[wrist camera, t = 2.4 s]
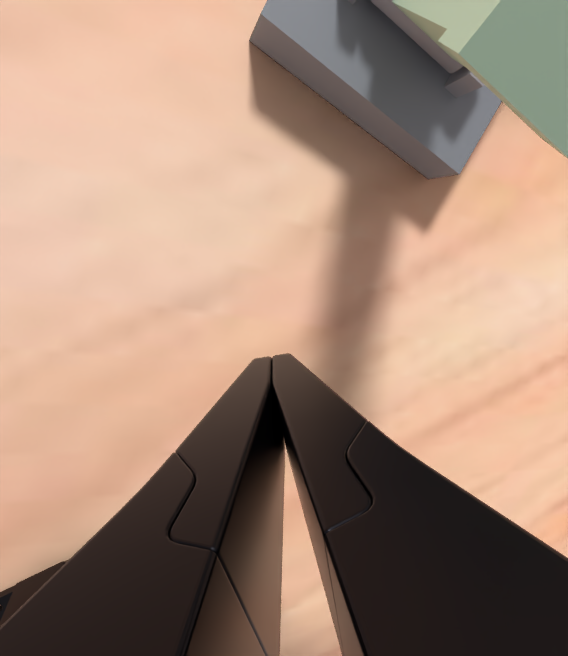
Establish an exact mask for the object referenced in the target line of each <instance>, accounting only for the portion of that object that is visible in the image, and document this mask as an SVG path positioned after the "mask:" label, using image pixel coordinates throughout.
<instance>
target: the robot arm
mask: <svg viewBox="0 0 568 656" xmlns="http://www.w3.org/2000/svg"><path fill="white" fill-rule="evenodd" d="M284 440H285V441H284ZM285 445H286V449H287V453H288V457H289V461H290V465H291V468H292V472H293V476H294V479H295V483H296V487H297V490H298V494H299V498H300V501H301V505H302V509H303V512H304V516H305V520H306V524H307V527H308V531H309V535H310V538H311V542H312V546H313V549H314V553H315V557H316V560H317V564H318V568H319V571H320V575H321V579H322V582H323V586H324V590H325V593H326V597H327V601H328V605H329V608H330V612H331V616H332V619H333V623H334V627H335V630H336V634H337V638H338V641H339V645H340V649H341V652H342V656H568V558H567V557H565V556H564V555H562V554H561V553H559V552H558V551H556V550H555V549H553V548H552V547H550V546H549V545H547V544H546V543H544V542H543V541H541V540H540V539H538V538H537V537H535V536H534V535H532V534H531V533H529V532H528V531H526V530H525V529H523V528H521V527H520V526H518V525H517V524H515V523H514V522H512V521H511V520H509V519H508V518H506V517H505V516H503V515H502V514H500V513H499V512H497V511H496V510H494V509H493V508H491V507H490V506H488V505H487V504H485V503H484V502H482V501H481V500H479V499H478V498H476V497H475V496H473V495H472V494H470V493H468V492H467V491H465V490H464V489H462V488H461V487H459V486H458V485H456V484H455V483H453V482H452V481H450V480H449V479H447V478H446V477H444V476H443V475H441V474H440V473H438V472H437V471H435V470H434V469H432V468H431V467H429V466H428V465H426V464H425V463H423V462H422V461H420V460H419V459H417V458H416V457H415V456H413V455H412V454H410V453H409V452H407V451H406V450H405V449H403V448H402V447H400V446H399V445H398V444H396V443H395V442H394V441H393V440H391V439H390V438H389V437H388V436H386V435H385V434H384V433H383V432H381V431H380V430H379V429H378V428H377V427H376V426H374V425H373V424H372V423H371V422H370V421H367V419H365V418H364V417H363V416H362V415H361V414H360V413H358V412H357V411H356V410H355V409H354V408H353V407H352V406H350V405H349V404H348V403H347V402H346V401H345V400H343V399H342V398H341V397H340V396H339V395H338V394H336V393H335V392H334V391H333V390H332V389H331V388H330V387H328V386H327V385H326V384H325V383H324V382H323V381H321V380H320V379H319V378H318V377H317V376H316V375H314V374H313V373H312V372H311V371H310V370H309V369H307V368H306V367H305V366H304V365H303V364H302V363H301V362H299V361H298V360H297V359H296V358H295V357H294V356H292V355H291V354H289V353H287V354H281V355H275V356H273V358H271V357H263V358H256V359H254V360H252V362H251V363H250V364H249V365H248V366H247V367H246V369H245V370H244V371H243V372H242V373H241V374H240V376H239V377H238V378H237V379H236V380H235V381H234V383H233V384H232V385H231V386H230V387H229V389H228V390H227V391H226V392H225V393H224V394H223V396H222V397H221V398H220V399H219V400H218V401H217V403H216V404H215V405H214V406H213V407H212V409H211V410H210V411H209V412H208V413H207V414H206V416H205V417H204V418H203V419H202V420H201V421H200V423H199V424H198V425H197V426H196V427H195V428H194V430H193V431H192V432H191V433H190V434H189V436H188V437H187V438H186V439H185V440H184V441H183V443H182V444H181V445H180V446H179V447H178V448H177V450H176V453H172V455H171V456H170V457H169V458H168V459H167V460H166V462H165V463H164V464H163V465H162V466H161V467H160V468H159V470H158V471H157V472H156V473H155V474H154V475H153V476H152V477H151V478H150V480H149V481H148V482H147V483H146V484H145V485H144V486H143V487H142V488H141V489H140V490H139V491H138V492H137V493H136V494H135V495H134V496H133V497H132V498H131V499H130V500H129V502H128V503H127V504H126V505H125V506H124V507H123V508H122V509H121V510H120V511H119V512H118V513H117V514H116V515H115V516H114V517H113V518H111V519H110V520H109V521H108V522H107V523H106V524H105V525H104V526H103V527H102V528H101V529H100V530H99V531H98V532H97V533H96V534H95V535H94V536H93V537H92V538H91V539H90V540H89V541H88V542H87V543H86V544H85V545H84V546H83V547H82V548H81V549H80V550H79V551H78V552H77V553H76V554H75V555H74V556H73V557H72V558H71V559H69V560H67V561H63V562H60V563H58V564H56V565H54V566H52V567H50V568H48V569H46V570H44V571H42V572H40V573H38V574H35V575H33V576H31V577H29V578H27V579H25V580H23V581H21V582H19V583H17V584H16V585H15V586H13V587H10V588H8V589H6V590H4V591H2V592H0V605H1V606H0V656H279V655H280V618H281V582H282V546H283V510H284V474H285Z"/></svg>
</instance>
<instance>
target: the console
mask: <svg viewBox="0 0 568 656" xmlns="http://www.w3.org/2000/svg"><path fill="white" fill-rule="evenodd" d="M249 41H250V42H252V43H253V44H254V45H255V46H257V47H258V48H259V49H261V50H262V51H263V52H264V53H266V54H267V55H268V56H270V57H271V58H272V59H274V60H275V61H276V62H277V63H279V64H280V65H281V66H283V67H284V68H285V69H286V70H288V71H289V72H290V73H292V74H293V75H294V76H296V77H297V78H298V79H299V80H301V81H302V82H303V83H305V84H306V85H307V86H308V87H310V88H311V89H312V90H314V91H315V92H316V93H318V94H319V95H320V96H321V97H323V98H324V99H325V100H327V101H328V102H329V103H330V104H332V105H333V106H334V107H336V108H337V109H338V110H340V111H341V112H342V113H343V114H345V115H346V116H347V117H349V118H350V119H351V120H352V121H354V122H355V123H356V124H358V125H359V126H360V127H362V128H363V129H364V130H365V131H367V132H368V133H369V134H371V135H372V136H373V137H374V138H376V139H377V140H378V141H380V142H381V143H382V144H383V145H385V146H386V147H387V148H389V149H390V150H391V151H393V152H394V153H395V154H396V155H398V156H399V157H400V158H402V159H403V160H404V161H405V162H407V163H408V164H409V165H411V166H412V167H413V168H415V169H416V170H417V171H418V172H420V173H421V174H422V175H424V176H425V177H426V178H427V179H433V178H439V177H446V176H452V175H458V174H460V172H461V171H462V169H463V167H464V166H465V164H466V162H467V160H468V159H469V157H470V155H471V153H472V152H473V150H474V148H475V147H476V145H477V143H478V141H479V140H480V138H481V136H482V134H483V133H484V131H485V129H486V128H487V126H488V124H489V122H490V121H491V119H492V117H493V116H494V114H495V112H496V110H497V109H498V107H499V105H500V103H501V102H502V101H501V100H500V99H499V98H498V97H497V96H496V95H495V94H494V93H493V92H492V91H491V90H490V89H489V88H487V87H486V86H485V85H484V84H483V83H482V82H481V81H480V80H479V79H478V78H477V77H476V76H475V75H474V74H473V73H472V72H471V71H469V70H468V69H467V68H466V67H464V66H463V67H462V68H460V69H459V70H457V71H456V72H454V73H448V72H447V71H446V70H445V69H444V68H443V67H442V66H441V65H440V64H439V63H438V62H436V61H435V60H434V59H433V58H432V57H431V56H430V55H429V54H428V53H427V52H426V51H424V50H423V49H422V48H421V47H420V46H419V45H418V44H417V43H416V42H415V41H414V40H413V39H411V38H410V37H409V36H408V35H407V34H406V33H405V32H404V31H403V30H402V29H401V28H399V27H398V26H397V25H396V24H395V23H394V22H393V21H392V20H391V19H390V18H389V17H387V16H386V15H385V14H384V13H383V12H382V11H381V10H380V9H379V8H378V7H377V6H375V5H374V4H373V3H372V2H371V1H370V0H267V2H266V4H265V6H264V8H263V10H262V12H261V14H260V16H259V19H258V21H257V23H256V26H255V28H254V30H253V33H252V35H251V37H250V40H249Z"/></svg>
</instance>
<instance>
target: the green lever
mask: <svg viewBox="0 0 568 656" xmlns="http://www.w3.org/2000/svg"><path fill="white" fill-rule="evenodd" d="M370 1H371V2H372V3H373V4H374V5H375V6H377V7H378V8H379V9H380V10H381V11H382V12H383V13H384V14H385V15H386V16H387V17H389V18H390V19H391V20H392V21H393V22H394V23H395V24H396V25H397V26H398V27H399V28H401V29H402V30H403V31H404V32H405V33H406V34H407V35H408V36H409V37H410V38H411V39H413V40H414V41H415V42H416V43H417V44H418V45H419V46H420V47H421V48H422V49H423V50H424V51H426V52H427V53H428V54H429V55H430V56H431V57H432V58H433V59H434V60H435V61H436V62H438V63H439V64H440V65H441V66H442V67H443V68H444V69H445V70H446V71H447V72H448V73H454V72H456V71H457V70H459V69H460V68H462V67H463V66H464V67H466V68H467V69H468V70H469V71H471V72H472V73H473V74H474V75H475V76H476V77H477V78H478V79H479V80H480V81H481V82H482V83H483V84H484V85H485V86H486V87H487V88H489V89H490V90H491V91H492V92H493V93H494V94H495V95H496V96H497V97H498V98H499V99H500V100H501V101H502V102H503V103H504V104H505V105H507V106H508V107H509V108H510V109H511V110H512V111H513V112H514V113H515V114H516V115H517V116H518V117H519V118H520V119H521V120H522V121H524V122H525V123H526V124H527V125H528V126H529V127H530V128H531V129H532V130H533V131H534V132H535V133H536V134H537V135H538V136H539V137H540V138H542V139H543V140H544V141H545V142H547V143H548V144H549V145H551V146H552V147H553V148H555V149H556V150H557V151H559V152H560V153H561V154H563V155H564V156H565V157H567V158H568V0H370Z"/></svg>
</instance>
